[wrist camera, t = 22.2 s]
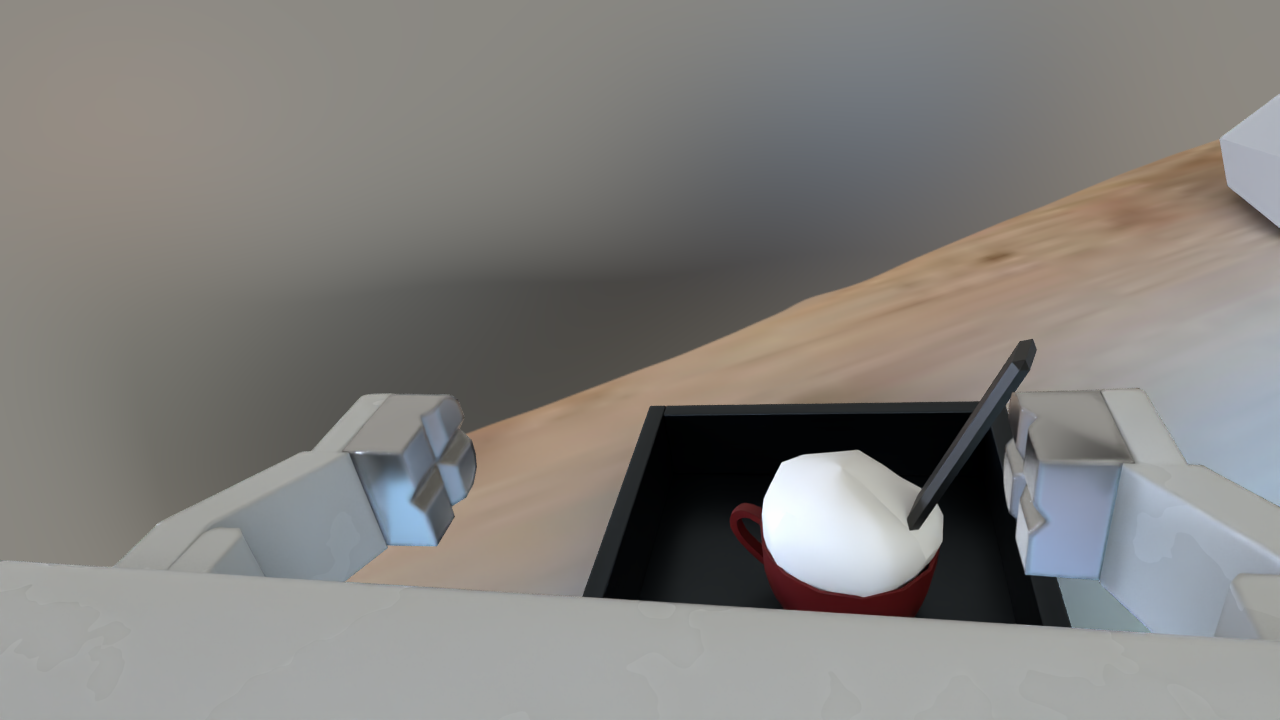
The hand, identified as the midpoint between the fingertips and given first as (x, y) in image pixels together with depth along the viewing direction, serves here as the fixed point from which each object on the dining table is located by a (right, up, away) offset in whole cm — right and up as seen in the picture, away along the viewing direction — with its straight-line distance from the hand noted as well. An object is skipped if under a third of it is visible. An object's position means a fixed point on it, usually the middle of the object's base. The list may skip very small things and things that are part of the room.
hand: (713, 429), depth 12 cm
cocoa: (+7, -9, +18) cm, 21 cm away
